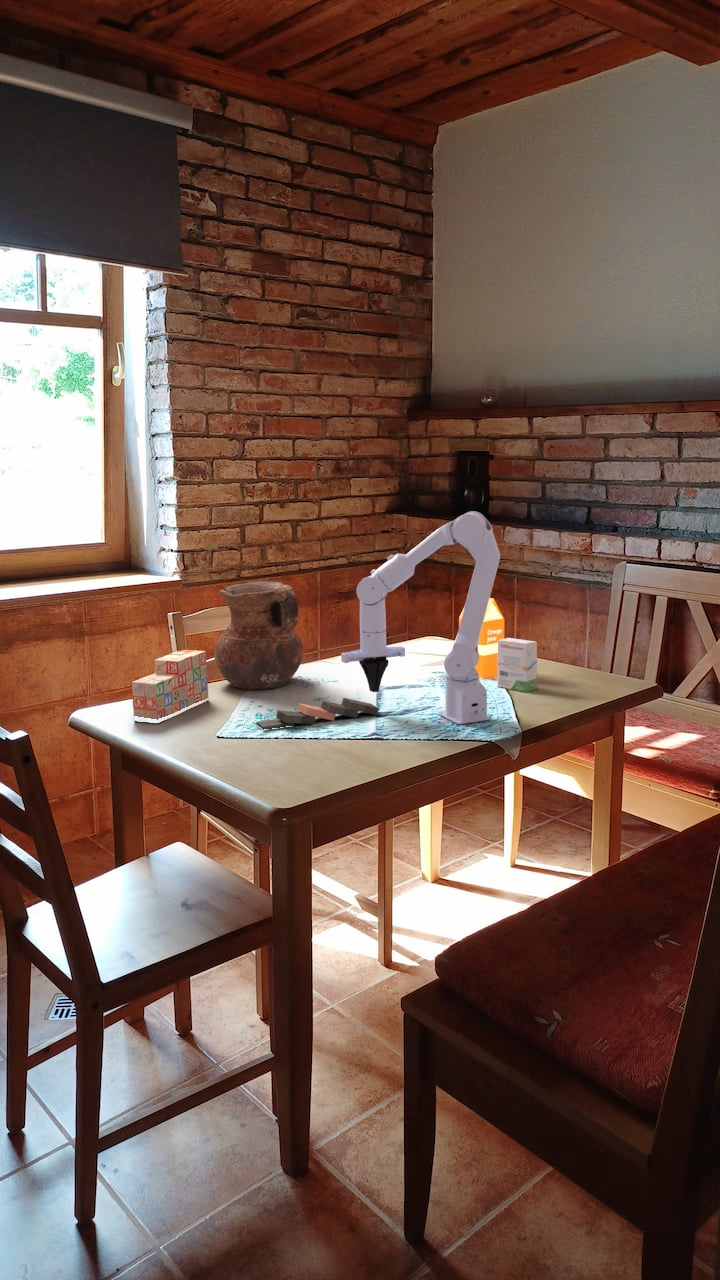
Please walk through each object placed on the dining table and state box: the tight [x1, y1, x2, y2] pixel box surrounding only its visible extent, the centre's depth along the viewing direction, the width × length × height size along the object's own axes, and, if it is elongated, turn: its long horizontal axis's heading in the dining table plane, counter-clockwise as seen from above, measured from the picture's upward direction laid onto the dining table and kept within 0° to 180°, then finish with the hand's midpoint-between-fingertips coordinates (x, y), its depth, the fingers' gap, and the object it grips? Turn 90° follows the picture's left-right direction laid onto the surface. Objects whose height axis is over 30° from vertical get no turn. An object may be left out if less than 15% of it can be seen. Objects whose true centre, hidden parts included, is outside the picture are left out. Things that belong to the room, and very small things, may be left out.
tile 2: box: [320, 700, 359, 719], centre depth 214 cm, size 4×2×7 cm
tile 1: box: [341, 697, 380, 716], centre depth 216 cm, size 4×2×7 cm
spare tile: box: [297, 702, 337, 722], centre depth 212 cm, size 4×2×7 cm
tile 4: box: [255, 718, 295, 730], centre depth 208 cm, size 4×2×7 cm
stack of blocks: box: [131, 649, 209, 720], centre depth 221 cm, size 21×6×12 cm, turn 158°
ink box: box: [497, 637, 538, 693], centre depth 235 cm, size 8×5×12 cm, turn 47°
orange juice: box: [458, 597, 505, 679], centre depth 250 cm, size 8×9×20 cm
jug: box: [214, 580, 304, 690], centre depth 244 cm, size 22×21×25 cm
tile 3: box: [275, 709, 316, 725], centre depth 209 cm, size 4×2×7 cm
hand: (374, 691), depth 216 cm, fingers closed
